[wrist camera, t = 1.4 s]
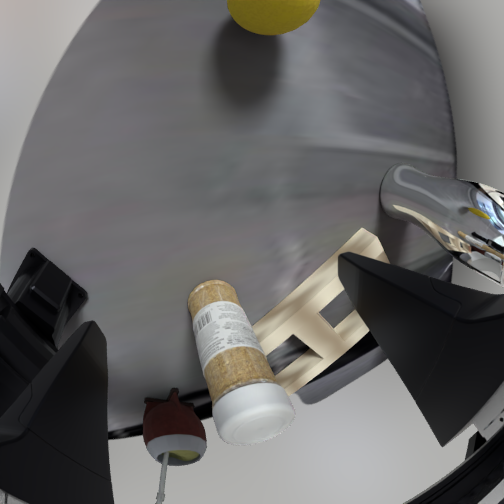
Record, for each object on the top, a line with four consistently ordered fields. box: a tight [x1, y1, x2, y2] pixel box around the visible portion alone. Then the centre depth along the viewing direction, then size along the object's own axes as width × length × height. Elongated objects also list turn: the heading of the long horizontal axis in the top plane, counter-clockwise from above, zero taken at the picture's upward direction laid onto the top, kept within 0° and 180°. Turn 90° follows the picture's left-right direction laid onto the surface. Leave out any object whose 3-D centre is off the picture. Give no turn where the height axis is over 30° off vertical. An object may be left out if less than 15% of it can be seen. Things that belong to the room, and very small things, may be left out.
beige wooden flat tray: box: [252, 228, 390, 396], centre depth 29 cm, size 21×11×3 cm, turn 129°
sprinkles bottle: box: [188, 280, 295, 445], centre depth 19 cm, size 5×5×13 cm
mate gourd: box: [143, 388, 207, 504], centre depth 23 cm, size 8×8×15 cm
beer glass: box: [380, 163, 504, 288], centre depth 20 cm, size 7×7×15 cm
